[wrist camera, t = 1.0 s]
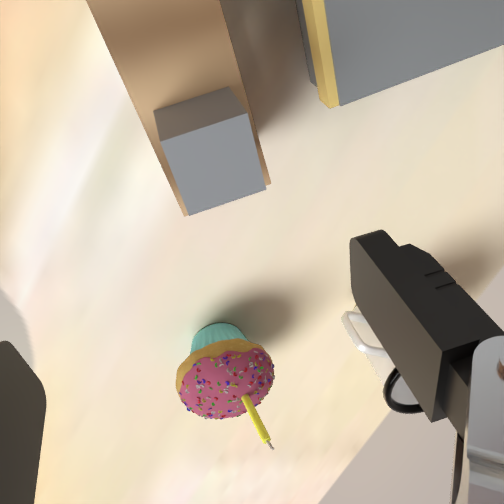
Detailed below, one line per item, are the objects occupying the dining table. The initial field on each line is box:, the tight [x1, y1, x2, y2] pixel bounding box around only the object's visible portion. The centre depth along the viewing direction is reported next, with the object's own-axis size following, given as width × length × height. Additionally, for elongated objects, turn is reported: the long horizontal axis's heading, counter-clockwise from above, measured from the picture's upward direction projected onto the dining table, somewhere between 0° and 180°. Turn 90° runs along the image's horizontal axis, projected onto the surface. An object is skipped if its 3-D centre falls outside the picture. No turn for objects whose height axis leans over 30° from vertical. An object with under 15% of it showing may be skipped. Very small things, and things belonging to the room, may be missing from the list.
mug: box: [341, 305, 424, 414], centre depth 42 cm, size 12×10×9 cm
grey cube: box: [153, 86, 266, 216], centre depth 22 cm, size 4×4×4 cm
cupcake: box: [176, 323, 275, 450], centre depth 38 cm, size 9×8×12 cm
